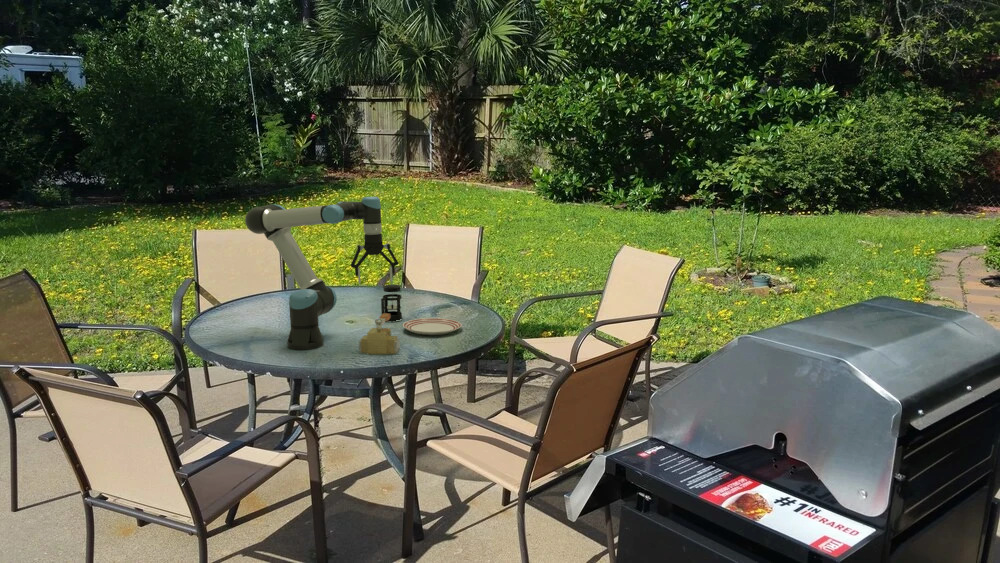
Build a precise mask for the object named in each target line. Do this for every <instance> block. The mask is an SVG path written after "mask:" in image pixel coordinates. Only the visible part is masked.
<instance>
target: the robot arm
mask: <svg viewBox="0 0 1000 563" xmlns="http://www.w3.org/2000/svg"><path fill="white" fill-rule="evenodd" d="M381 210H382V206H381V199H380V197H378V196H366V197H365V196H364V197H362V199H361V201H338V202H337V203H335V204H326V205H317V206H306V207H304V206H303V207H297V208H296V207H295V208H285V207H284V206H282V205H280V204H274V203H273V204H268V205H262V206H256V207H255V206H254V207H252V208H251V209H249V211H248V212H247V213H246V215H245V217H244V222H245V226H246V228H247V230H249V231H250V232H252V233H253V234H258V235H259V234H261V235H262V234H264V236H265V238H266V240H267V241H271V242H272V243H273V244H274V246H275V248H276V249H277V251H278V253H279V254H280V257H281V258H282V260H283V262H284V263H285V265H286V266H287V268H288V270H289V271H290V273H291V275H292V276H293V278H294V280H295V282H296V283H297V285H298V287H299V289H298V290H296V291H294V292H291V294H289V297H288V299H289V301H288V306H289V322H290V324H289V325H290V330H289V334H288V336H287V337H288V338H287V341H286V345H287V348H288V349H291V350H297V351H301V350H302V351H303V350H304V351H306V350H313V349H317V348H321V347H322V346H324V338H323V335H322V331H321V329H320V327H319V317H320V316H322V315H325V314H327V313H329V312H330V311H331V310H333V309H334V308H335V306H336V304H337V298H338V297H337V293H336V292H335V291H336V290H334V289H333V288H332V287H331V286H328V285H326V283H325V282H324V280H323V279H321V278H318V277H317V275H316V273H315V272H314V270H313V268H312V267H311V265H310V263H309V261H308V260H307V258H306V256H305V255H304V253H303V251H302V250H301V248H300V246H299V245H298V242H297V241H296V239H295V238H294V236H293V234H292V232H291V229H292V228H293V227H304V226H305V227H306V226H314V225H325V224H326V225H327V224H330V225H331V224H333V225H335V224H339V223H341V222H346V221H350V220H362V221H363V233H364V235H363V240H364V245H360V244H358V245H357V247H356V252H355V254H354V256H353V258H352V260H351V263H350V267H351V268H353V269H354V271H355V272H354V273H355V276H356V277H357V281H358V284H360V285H361V269H360V266H361V265H362V263H363V262H364V261H365V260H366V258H367V257H368V256H374V255H375V256H379V255H381V257H383V258H384V259H385V261H387V262H388V264H390V265H389V274H390V276H389V280H390V282H392V283H393V282H394V280H393V278H392V274H396V272H395V266H397V265H399V262H398V260H397V258H396V256H395V254H394V252H393V251H392V249H391V245H390V243H385V244H383V234H382V233H383V231H382V230H383V228H382V211H381ZM384 248H385V250H387V251H388V253H389V255H390V256H391V258H392V260H393V261H392V260H391V259H390V258H389V257H388V255H386V254H385V253H384V251H383V249H384ZM363 249H364V251H365V252H364V253H363V255H362V256H361V258H360V259H359V258H358V257H359V255H360V254H361V251H363ZM358 259H359V260H358ZM357 260H358V261H357Z"/></svg>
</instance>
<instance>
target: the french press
mask: <svg viewBox="0 0 1000 563" xmlns="http://www.w3.org/2000/svg"><path fill="white" fill-rule="evenodd" d="M386 275H387V276H388V277H390V273H387V274H386ZM396 275H397V274H396V273H394V274H392V279H393V278H394V277H393V276H396ZM390 282H391V281H390ZM382 288H383V292H384V293H387V294H384V295H383V296H382V297H381V298H380V303H381V312H380V313H381V315H382V314H383V313H388V314H390V319H389V320H388V321H396V320H400V319H402V320H403V315H402V314H403V313H402V312H401V308H402V306H401V299H402V295H401V294H398V293H397V292H401V288H402V285H400V284H393V282H391V284H385V285H383V286H382ZM388 293H389V294H388ZM396 293H397V294H396ZM389 301H391V305H389ZM395 301H396V304H394V303H393V302H395Z"/></svg>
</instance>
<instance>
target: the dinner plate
mask: <svg viewBox="0 0 1000 563" xmlns="http://www.w3.org/2000/svg"><path fill="white" fill-rule="evenodd" d="M462 326H463V324H462V323H461V322H459V320H458V321H457V320H454V319H450V318H443V317H441V318H439V317H425V318H424V317H422V318H415V319H410V320H407V321H404V322H403V323H402V327H403V328H404V329H405V330H407V331H409V332H411V333H413V334H416V333H417V335H421V334H422V336H441V334H443V335H446V333H447V334H450V333H451V332H454V331H457V330H458V329H461V327H462ZM449 332H450V333H449Z"/></svg>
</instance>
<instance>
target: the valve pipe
mask: <svg viewBox="0 0 1000 563" xmlns="http://www.w3.org/2000/svg"><path fill="white" fill-rule="evenodd" d="M381 329H382V330H381V331H377V327H372V328H371V329H370V330H369V331H367V334H365V335H363V337H361V338H360V339H359V341H358V349H359V351H358V352H359V353H360V354H368V355H384V356H385V355H396V353H397V354H399V352H400V351H401V346H400V344H401V343H400V342H401V341H400V340H401V339H400V338H398V335H392V330H391V328H388V327H387V328H385V327H381ZM399 350H400V351H399Z"/></svg>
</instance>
